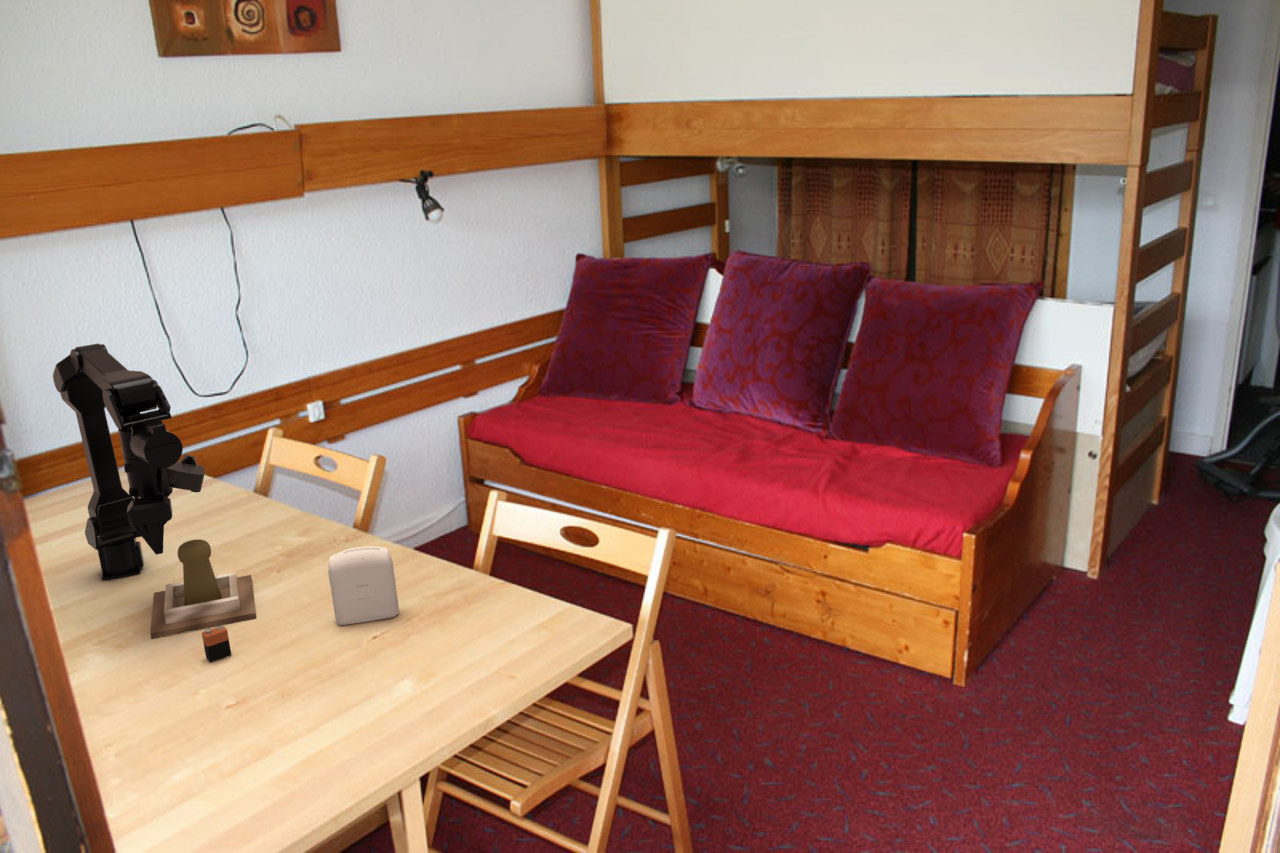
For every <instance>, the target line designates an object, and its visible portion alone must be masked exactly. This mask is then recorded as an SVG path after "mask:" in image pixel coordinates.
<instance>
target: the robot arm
mask: <svg viewBox="0 0 1280 853" xmlns="http://www.w3.org/2000/svg"><path fill="white" fill-rule="evenodd" d="M69 352H70V353H69V354H68V355H67V356H66V357H64V358H63V359H61V360H60V361H58V362H57V363H56V364H55V366H54V370H53V372H52V373H53V375H52V379H53V384H54V387H55V390H56V391H57V392H58V393H59V394H60V397H61V400H62V402H64V403H65V404H66V405H67V406H68V407H69V408H70V409H72V410H73V411H74V413H75V416H76V420H77V424H78V429H79V433H80V437H81V443H82V445H83V449H84V454H85V458H86V462H87V463H86V464H87V467H88V471H89V475H90V476H89V477H90V479H91V484H92V488H93V492H92V495H91V497H90V500H89V501H88V504H87V510H88V511H87V512H88V517H89V518H87V520H86V523H85V524H86V525H85V530H84V535H85V539H86V541H87V544H88V545H89V546H91V548H93V549H94V550H95V551H97V554H98V555H97V556H98V558H99V559H98V560H99V564H100V568H101V576H100V578H101V580H102V581H106V580H111V579H117V578H123V577H129V576H134V575H139V574H141V573H142V567H143V566H144V564H145V561H144V560H145V559H144V555H143V549H142V544H141V541H140V540H138V541H137V538H142V539H143V540H144V541H145V543H147V545H148V546H149V548H150V549H151V550H152V552H153V553H154V554H155V555H161V554H163V553H164V535H165V533H164V532H165V525H166V524H167V523H168V522H169V521H171V520H172V518H173V506H172V500H171V498H169V497H170V495H171V494H172V493H173V490H174V489H179V490H184V491H185V490H186V491H190V492H191V493H201V491H202V486H203V482H204V479H205V474H206V472H205V467H203V465H202V464H198V462H197V460H196V456H194V455H190V454H184V456H183V457H182V455H183V450H184V449H183V448H184V447H183V443H182V441H181V439H180V437H179V436H177V434H175V433H172V432H171V431H170V430H168V429H166V428H167V427H166V424H165V423H164V422H163V421H167V420H169V419H170V420H171V419H172V414H171V405H170V402H169V400H168V399H167V397H166V395H165V393H164V391H163V388H162V387H161V386H160V384H159V383H158V382H157V381H156V379H153V377H152V376H151V375H149V374H148V373H146V372H143V371H141V370H140V371H139V370H129V369H127V367H125V366H124V365H123V364H122V363H121V362H120V361H118V360H117V359H116V358H115V357H114V356H113V355H112V354H110V353H109V352H108V349H107V346H106V345H105V344H101V343H93V344H87V345H79V346H76V347H75V348H74V349H71V350H70V351H69ZM157 408H158V409H157ZM106 410H107V412H108V414H109V415H110V417H111V419H112V421H113V423H114V425H115V426H116V428H117V430H118V434H119V440H120V447H121V451H122V455H123V462H124V465H123V468H124V474H126V477H127V483H128V487H129V488H128V492H127V490H125V489H124V488H123V485H122V480H121V477H120V472H119V467H118V464H117V459H116V454H115V450H114V446H113V441H112V437H111V432H110V428H109V423H108V420H107V415H106ZM181 457H182V458H181ZM173 488H174V489H173Z"/></svg>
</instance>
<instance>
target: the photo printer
mask: <svg viewBox="0 0 1280 853" xmlns="http://www.w3.org/2000/svg"><path fill="white" fill-rule="evenodd" d="M327 567H328V579H329V585H330V592H331V598H332V605H333V610H334V618H335V623H336V624H337V623H338V624H339V625H340V626H344V625H352V624H358V623H365V622H373V621H377V620H384V619H390V618H395V617H397V616H398V615H399V613H400V606H399V599H398V597H399V596H398V591H397V583H396V577H395V568H394V567H395V566H394V560H393V557H392V555H391V554H390V552H389V548H387V547H384V546H383V547H382V546H358V547H357V546H356V547H352V548H349V549H345V550H342V551H339V552H336V553H334V554H332V555H331V556H329V562H328V566H327ZM397 614H398V615H397ZM396 615H397V616H396ZM338 624H337V625H338ZM339 625H338V626H339Z"/></svg>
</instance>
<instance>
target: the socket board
mask: <svg viewBox="0 0 1280 853" xmlns="http://www.w3.org/2000/svg"><path fill="white" fill-rule="evenodd" d="M215 578H216V581H217V584H218V587H219V590H220V593H221V596H222V599H219V600H214V601H209V602H203V603H198V604H193V605H188V606H184V581H180V582H174V583H169V584H165V590H160V591H156V592H153V596H152V607H151V620H150V628H149V631H150V632H149V635H150V639H151V640H154V639H157V638H159V639H160V638H163V637H164V638H165V637H167V636H173V635H178V634H183V633H189V632H194V631H198V630H203V629H204V630H205V629H208V628H215V627H217V626H220V625H222V626H224V625H228V624H235V623H239V622H244V621H249V620H253V619H257V615H256V613H257V612H256V604H255V603H256V602H255V596H254V588H253V578H252V574H249V575H247V574H246V575H242V576H238V575H237V572H236V571H235V572H230V573H224V574H219V575H215Z"/></svg>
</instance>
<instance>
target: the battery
mask: <svg viewBox="0 0 1280 853" xmlns="http://www.w3.org/2000/svg"><path fill="white" fill-rule="evenodd" d="M201 637H202V643H203V649H204V655H205V658H206V660H207V661H208V662H209V663H213V662H217V661H219V660H223V659H225V658H228V657H231V656H232V651H231V644H230V639H229V638H230V637H229V633H228V629H227V628H226V627H225V626H224V625H219V626H215V627H209V628H205V629H204V631H202V632H201Z"/></svg>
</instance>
